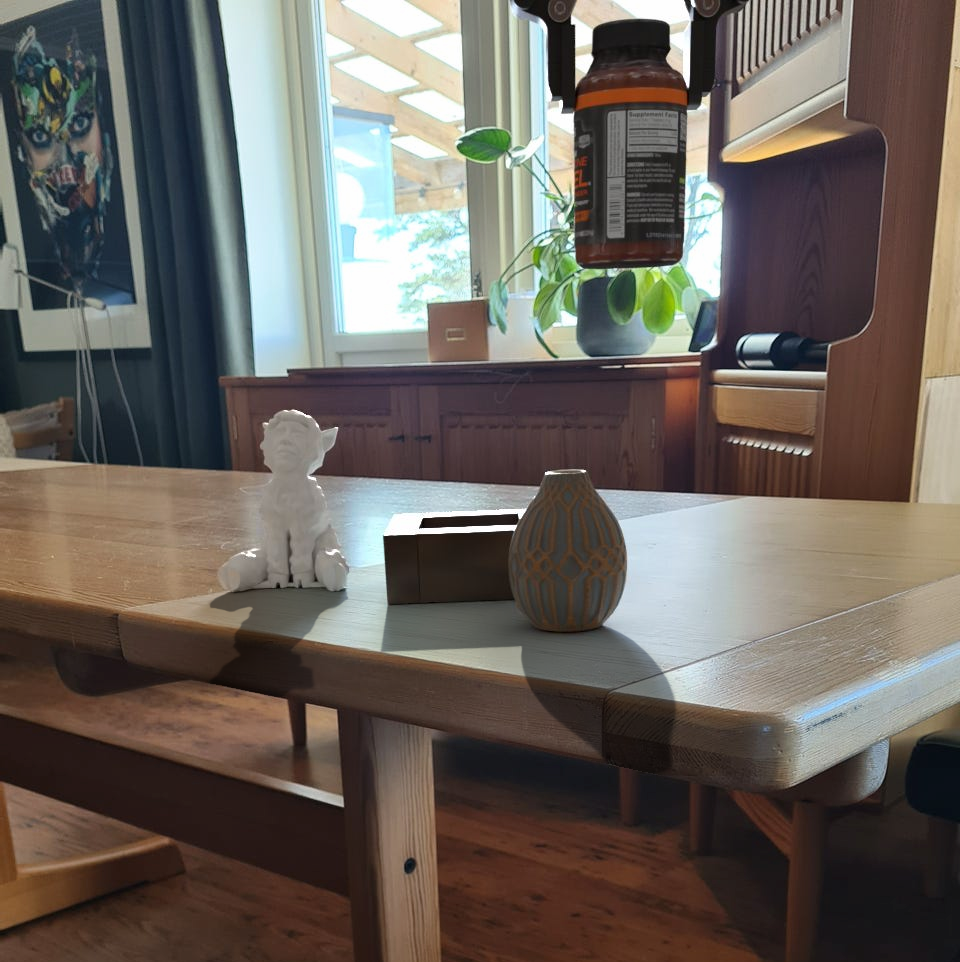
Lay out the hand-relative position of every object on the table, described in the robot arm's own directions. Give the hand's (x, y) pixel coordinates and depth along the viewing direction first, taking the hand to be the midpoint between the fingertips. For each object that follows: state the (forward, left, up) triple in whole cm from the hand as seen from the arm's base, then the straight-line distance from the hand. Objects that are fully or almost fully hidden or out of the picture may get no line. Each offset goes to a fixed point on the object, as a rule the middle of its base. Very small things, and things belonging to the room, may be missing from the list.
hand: (630, 108), depth 67 cm
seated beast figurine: (+23, -18, -27) cm, 40 cm away
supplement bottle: (0, 0, -8) cm, 8 cm away
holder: (+9, -13, -27) cm, 32 cm away
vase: (+4, +1, -27) cm, 27 cm away
